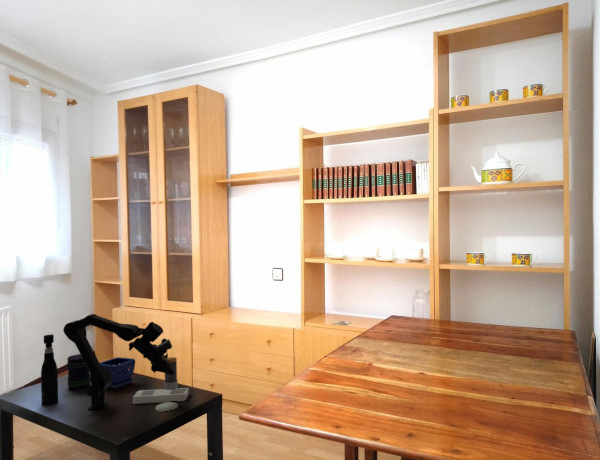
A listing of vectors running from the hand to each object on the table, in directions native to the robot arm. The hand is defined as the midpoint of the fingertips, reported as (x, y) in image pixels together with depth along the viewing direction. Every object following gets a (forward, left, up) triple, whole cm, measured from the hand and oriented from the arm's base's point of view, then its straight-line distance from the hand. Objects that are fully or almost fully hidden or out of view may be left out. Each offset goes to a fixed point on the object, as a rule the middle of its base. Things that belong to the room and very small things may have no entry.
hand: (174, 372), depth 188 cm
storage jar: (+28, +52, -14) cm, 61 cm away
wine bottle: (+8, +56, -14) cm, 59 cm away
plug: (0, +1, -7) cm, 7 cm away
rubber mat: (-5, +2, -13) cm, 14 cm away
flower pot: (+28, +34, -14) cm, 46 cm away
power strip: (+6, +7, -13) cm, 16 cm away
